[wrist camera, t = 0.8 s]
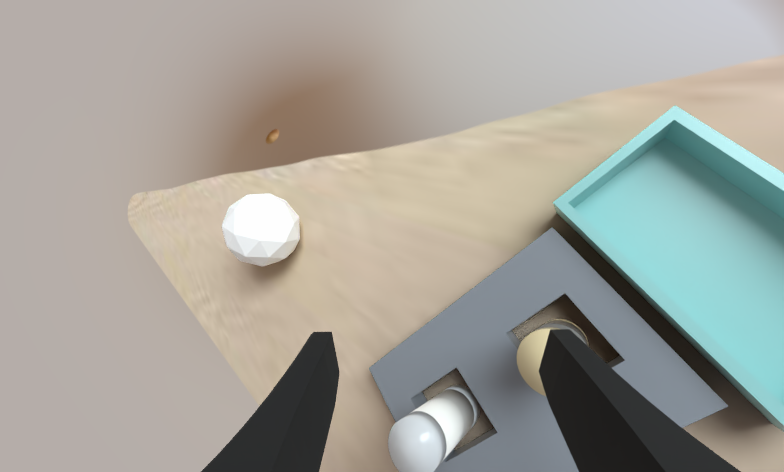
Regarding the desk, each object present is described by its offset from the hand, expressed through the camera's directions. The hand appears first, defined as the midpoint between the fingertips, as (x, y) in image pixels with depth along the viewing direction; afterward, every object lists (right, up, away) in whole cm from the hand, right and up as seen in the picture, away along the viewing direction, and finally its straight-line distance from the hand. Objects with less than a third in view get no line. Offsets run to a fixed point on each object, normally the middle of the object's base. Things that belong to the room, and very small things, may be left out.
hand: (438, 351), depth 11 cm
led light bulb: (+10, -3, +11) cm, 15 cm away
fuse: (+4, -9, +13) cm, 17 cm away
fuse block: (+7, -6, +12) cm, 15 cm away
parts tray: (+17, +3, +7) cm, 19 cm away
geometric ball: (-13, +4, +27) cm, 30 cm away
